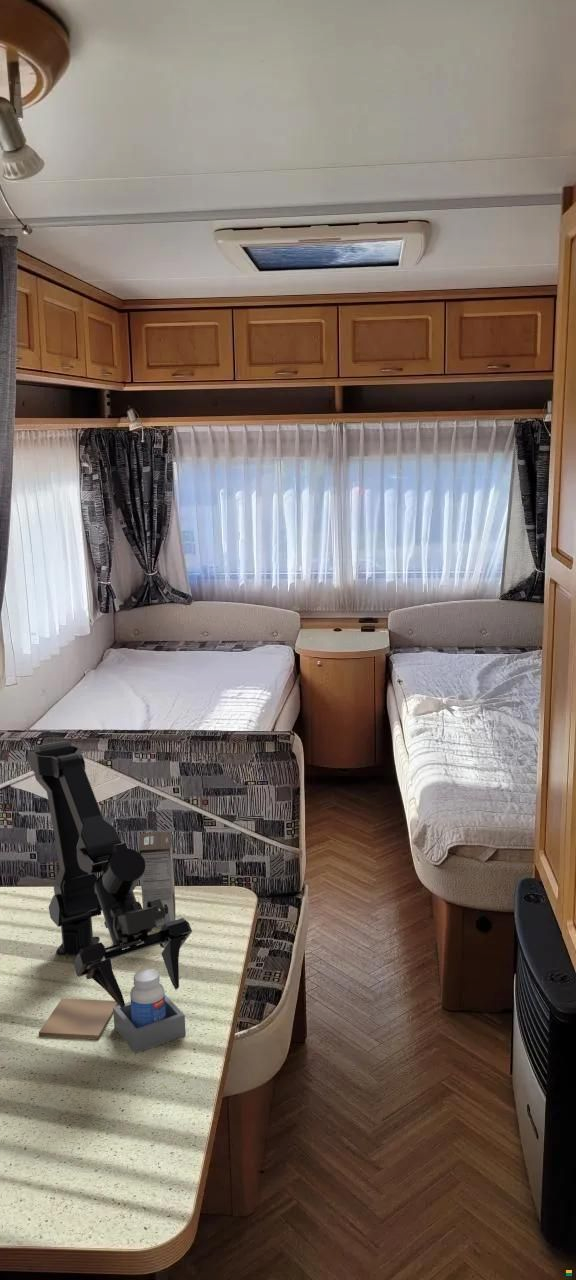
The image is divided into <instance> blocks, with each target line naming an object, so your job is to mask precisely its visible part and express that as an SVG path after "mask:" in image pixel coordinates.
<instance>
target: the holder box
mask: <svg viewBox="0 0 576 1280" xmlns="http://www.w3.org/2000/svg"><path fill="white" fill-rule="evenodd" d="M124 1003H125V1002H124ZM165 1012H166V1019H163V1020H160V1021H157V1022H154V1023H152V1024H149V1025H146V1026H143V1027H140V1028H138V1029H136V1027H135V1026H134V1025H133V1024H132V1015H131V1001H129V1002H126V1003H125V1006H124V1007H123V1008H121V1007H120V1006H119V1005H118V1006H116V1007H113V1015H112V1016H113V1024H114V1025H113V1026H114V1029H115V1030H116V1032H117V1033H118V1034H119V1035H120V1036H121V1037H122V1039H123V1040H124V1041H125V1043H126V1044H127V1045H128V1046H129V1048H130V1049H131V1050H132V1051H133V1052H134V1055H136V1054H138V1053H141V1052H144V1051H146V1050H149V1049H153V1048H155V1047H157V1046H160V1045H162V1044H166V1043H168V1042H171V1041H173V1040H176V1038H177V1039H178V1038H179V1039H180V1038H182V1037H185V1036H186V1035H187V1032H186V1030H187V1029H186V1018H185V1017H186V1016H185V1014H184V1012H183V1011H182V1010H181V1009H180V1008H179V1007H178V1006H177V1005H176V1004H175V1003H174V1002H173V1001H172V1000H171V999H170V997H168V996H167V994H165ZM184 1035H185V1036H184Z"/></svg>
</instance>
